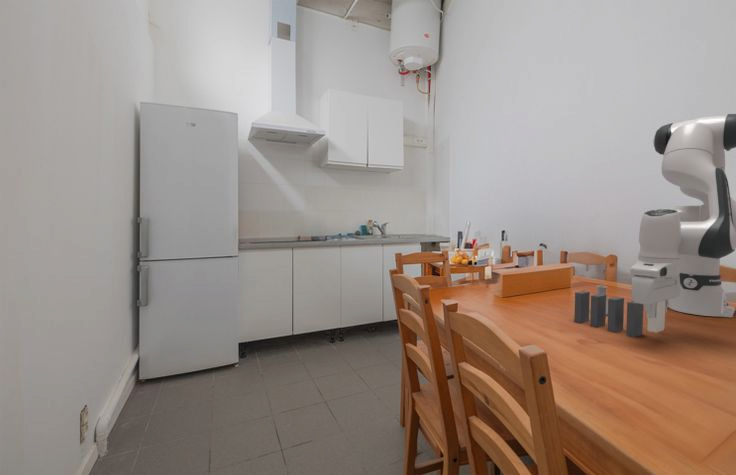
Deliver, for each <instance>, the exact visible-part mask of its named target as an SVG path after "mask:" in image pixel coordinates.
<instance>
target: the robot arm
mask: <svg viewBox="0 0 736 475" xmlns="http://www.w3.org/2000/svg"><path fill="white" fill-rule="evenodd" d="M652 144H653V147H654V150H655V152H656V153H658V154H660V155H663V156H662V157H663V158H662V162H661V174H662V176H663V178H664V179H665V180H666V181H667V182H669V183H670V184H672V185H674V186H677V187H679V190H680V191H681V193H682V194H683V195H686V196H688V197H690V198H694V199H697V200H699V201H700V202H701V203H703V204H701V205H676V206H668V207H665V208H664V207H663V208H660V209H651V210H648V211H646V212H644V213H643V214H642V218H641V220H640V226H639V232H638V233H639V234H638V243H639V246H640V249H639V252H638V256H637V257H638V259H637V261H636V262H635V263H634V264H633V265H631V267H630V268H629V269H630V272H629V273H630V275H633V276H632V278H631V298H632V301H634V302H635V303H640V304H644V306H643V308H644V309H645V316H646V318H647V319H648V318H655V317H656V312H655V307H654V306H655V304H656V303H657V302H661V301H664V300H665V315H666V314H667V312H668V310H667V309H668V308H669V309H670V310H672V311H677V312H680V313H684V314H690V315H696V316H706V317H721V318H734V315H733V314H735V312H736V308H735V307H734V306H729V303H728V302H727V300H728V299H727V296H728V295H727V293H726V292H725V290H724V289H723V287H722V286H721V285H722V279H723V276H722V274H720V268H721V267H720V266H721V265H720V262H721V261H720V260H721V259H722V258H724V257H727V256H729V255H730V254H732V253H734V252H735V251H736V200H734V199H733V198H732V197H731V193H730V186H729V182H728V181H729V180H728V176H727V174H726V152H729V151H731V150H732V149H735V148H736V113H728V114H727V115H726V114H725V115H713V116H704V117H702V116H701V117H698V118H694V119H690V120H689V119H688V120H685V121H684V120H682V121H680V122H675V123H668V124H665V125H662V126H660V127H659V128H658V129H657V130H656V131H655V134H654V137H653V141H652ZM725 151H726V152H725ZM734 311H735V312H734Z"/></svg>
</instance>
